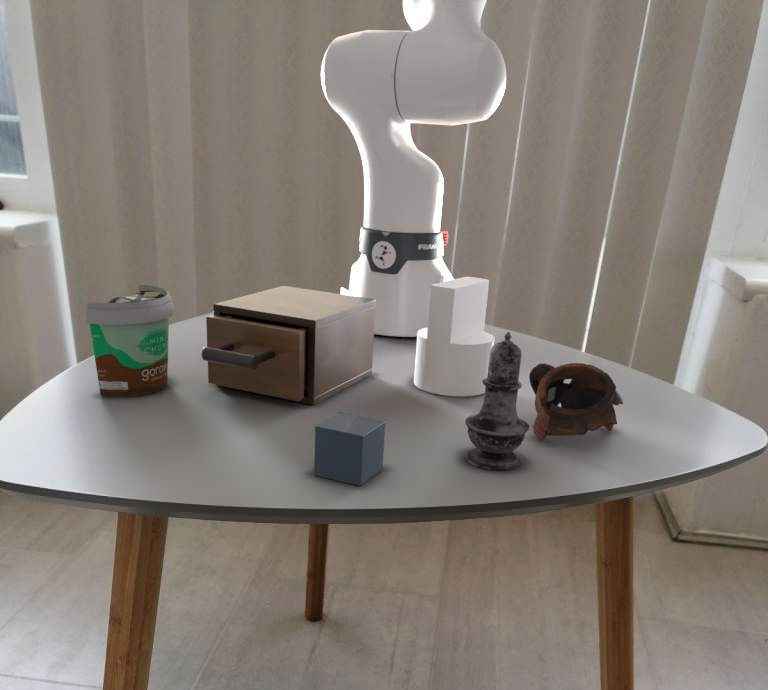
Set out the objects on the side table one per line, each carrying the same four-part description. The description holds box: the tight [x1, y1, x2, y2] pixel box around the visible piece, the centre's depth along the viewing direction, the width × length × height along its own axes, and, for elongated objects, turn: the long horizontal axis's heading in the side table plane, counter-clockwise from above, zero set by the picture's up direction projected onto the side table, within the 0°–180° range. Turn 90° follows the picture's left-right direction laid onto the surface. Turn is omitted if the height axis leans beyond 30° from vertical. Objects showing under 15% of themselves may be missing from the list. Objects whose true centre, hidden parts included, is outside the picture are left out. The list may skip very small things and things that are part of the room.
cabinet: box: [212, 285, 376, 406], centre depth 96 cm, size 15×13×9 cm
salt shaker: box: [464, 331, 530, 472], centre depth 75 cm, size 6×6×12 cm
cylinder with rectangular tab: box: [413, 276, 496, 397], centre depth 97 cm, size 9×9×12 cm
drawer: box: [201, 314, 309, 402], centre depth 92 cm, size 18×11×7 cm, turn 155°
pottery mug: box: [529, 362, 624, 442], centre depth 85 cm, size 12×10×8 cm
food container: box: [85, 283, 176, 397], centre depth 90 cm, size 12×6×10 cm, turn 168°
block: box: [313, 411, 386, 487], centre depth 72 cm, size 4×4×4 cm
